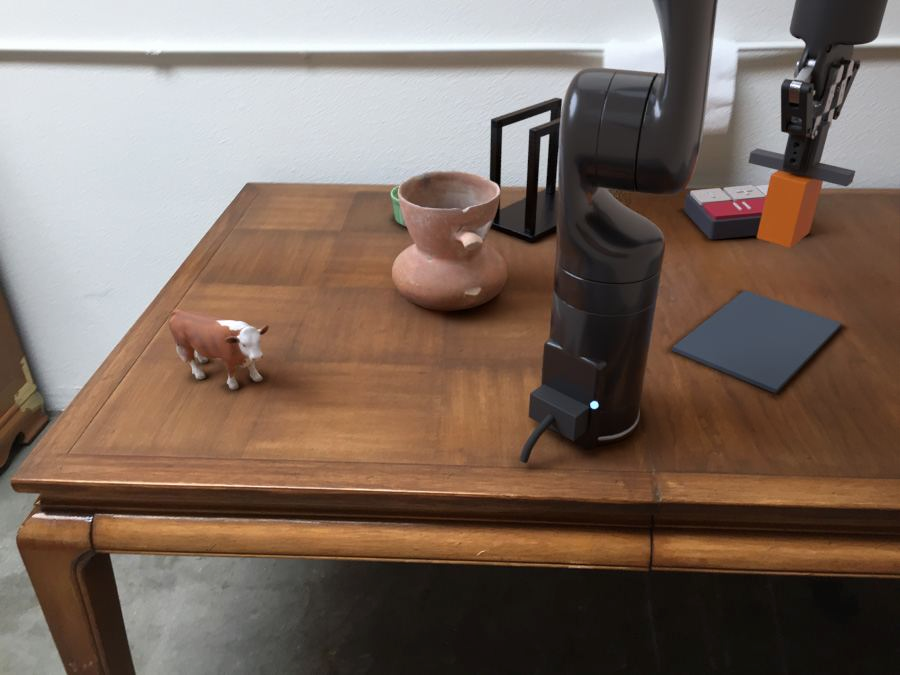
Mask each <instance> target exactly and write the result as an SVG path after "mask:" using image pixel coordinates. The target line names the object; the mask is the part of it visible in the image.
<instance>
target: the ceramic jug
mask: <svg viewBox="0 0 900 675" xmlns="http://www.w3.org/2000/svg"><path fill="white" fill-rule="evenodd" d="M399 185H400V186H399ZM399 185H398V186H399V189H398V199H399V204H400V208H401V212H402V215H403V218H404V221H405V224H406V226H407V227H406V228H407V231H408V233H409V235H410V237H411V239H412V240H413V242H414V243H412V244H411V245H409V246H408V247H406V248H405V249H404V250H402V251H401V252H400V253H399V254H398V256H397V257H396V259H395V260H394V262H393V265H392V268H391V278H392V282H393V284H394V287H395V288H396V290H397V291H398V293H399V294H400V295H401V296H402V297H404V298H405V300H408V301H409V302H410V303H413V304H415V305H417V306H419V307H423V308H425V309H430V310H436V311H461V310H468V309H471V308H476V307H478V306H481V305H483V304H485V303H487V302H489V301H491V300H492V299H493V298H495V297H496V296H497V295H498V294H499V293H500V292H501V291H502V289H503V288H504V286H505V284H506V281H507V278H508V267H507V263H506V261H505V259H504V257H503V256H502V255H501V254H500V253H499V252H498V251H497V250H495V249H494V248H493V247H491V246H490V245H488V244H486V243H484V242H486V238H487V236H488V234H489V232H490V230H491V228H490V227H491V225H492V222H493V220H494V217H495V214H496V212H497V208H498V204H499V200H500V201H501V190H500V188H499V186H498V185H497V184H496V183H494V182H492V181H491V180H490V178H485V177H484V176H481V175H479V174H478V175H477V174H475V173H470V172H465V171H459V170H444V171H443V170H432V171H426V172H422V173H420V174H417V175H413V176H410V177H408V178H407V179H405V180H404V181H402V182H401V183H400V184H399Z"/></svg>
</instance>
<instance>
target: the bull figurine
mask: <svg viewBox="0 0 900 675" xmlns="http://www.w3.org/2000/svg"><path fill="white" fill-rule="evenodd" d="M168 327H169V331H170V333H171V335H172V337H173V340H174V344H175V349H176V353H177V355H178V356H179V357H180V359H181V360H182V361H183V363H189V365H190V367H191V373H192V375H194V376H195V378H196V380H204V379H206V377H207V375H206V373H205V372H204V371H203V370H202V369H201V367H199V365H198V363H197V362H196V359H195V358H197V359H198V361H199V363H200V364H206V363H207V362H208V361H209V360H214V361H216V360H218V361H222V362H223V364H224V366H225V369H226V372H227V376H228V378H227V381H226V384H227V385H228V388H229V389H230V390H234V391H235V390H237V389H239V386H240V385H239V383H238V381H237V380H236V377H235V375H236V367H237V366H238V367H240V368H246V367H247V368H248V370H249V377H250V378H252V381H253V382H254V383H258V382H261V381H263V379H264V378H263V376H262V374H261V375H260V373H259V372H258V370H257V369H256V366H255V362H258V361H261V360H263V359H264V356H265V355H264V353H263V351H262V346H261V336H263V335H265V334H266V333H267V332H268V331H269V328H270V325H268V324H265V325H263V326H261V327H260V328H259V329H257V328H256V327H254V326H252V325H249V324H248V323H247V322H245V321H242V320H235V319H234V320H233V319H224V318H219V317H216V316H211V315H209V314H206V313H203V312H198V311H193V310H189V309H187V310H186V309H179V308H177V309H174V310H173V311H171V312H170V317H169V320H168Z"/></svg>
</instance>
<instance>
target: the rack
mask: <svg viewBox="0 0 900 675" xmlns="http://www.w3.org/2000/svg"><path fill="white" fill-rule="evenodd" d="M562 105H563V98H560V97H552V98H550V99H548V100H544V101H541V102H538V103H535V104H531V105H529V106H526V107H523V108H520V109H517V110H514V111H511V112H508V113H505V114H503V115H499V116H496V117H493V118H491V119H490V138H489V139H490V143H489V144H490V145H489V148H490V149H489V180H491V181H492V182H494V183H496V184H497V185H498V186H499V188H500V191H502V190H501V189H502V188H501V186H502V185H501V184H502V157H503V156H502V155H503V154H502V151H503V128H504V127H507V126H510V125H513V124H516V123H519V122H521V121H525V120H527V119H530V118H533V117H536V116H538V115H542V114H545V113H548V112H550V116H549V121H548V122H544V123H542V124H539V125H537V126H533V127H531V128H529V129H528V144H527V145H528V146H527V168H526V183H525V184H526V186H525V187H526V188H525V198H522V199H520V200H518V201H515V202H513V203H510V204H509V205H507V206H504V207H502V208H501V199H500V200H499V204H498V208H497V212H496V214H495V217H494V220H493V222H492V225H491V227H490V230H491V229H492V230H494V231H497V232H499V233H501V234H504V235H506V236H510V237H513V238H516V239H519V240H520V241H524V242H526V243H529V244H533V243H536V242H538V241H540V240H542V239H543V238H545V237H547V236H549V235H551V234H553V233H556V226H557V208H558V189H556V188H557V178H558V177H557V176H558V164H559V127H560V119H561V111H562ZM546 136H548V146H547V147H548V148H547V161H546V162H547V163H546V178H545V188H544V189H542V190H540V191H539V175H540V174H539V173H540V157H541V139H542V138H543V137H546Z"/></svg>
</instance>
